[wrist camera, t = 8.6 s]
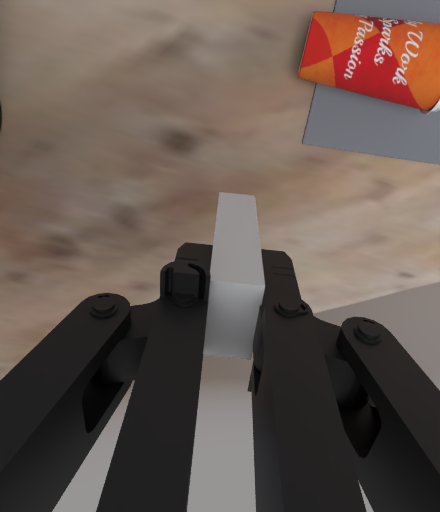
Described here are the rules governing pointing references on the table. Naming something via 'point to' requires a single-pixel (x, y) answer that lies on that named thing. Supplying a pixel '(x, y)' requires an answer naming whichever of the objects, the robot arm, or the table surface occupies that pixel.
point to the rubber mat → (376, 102)
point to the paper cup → (375, 58)
